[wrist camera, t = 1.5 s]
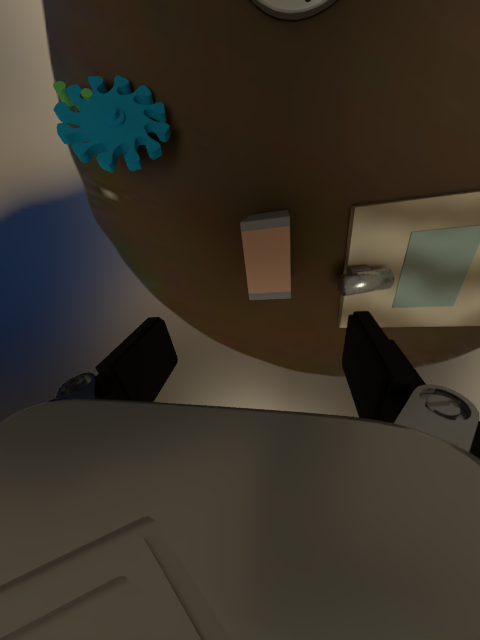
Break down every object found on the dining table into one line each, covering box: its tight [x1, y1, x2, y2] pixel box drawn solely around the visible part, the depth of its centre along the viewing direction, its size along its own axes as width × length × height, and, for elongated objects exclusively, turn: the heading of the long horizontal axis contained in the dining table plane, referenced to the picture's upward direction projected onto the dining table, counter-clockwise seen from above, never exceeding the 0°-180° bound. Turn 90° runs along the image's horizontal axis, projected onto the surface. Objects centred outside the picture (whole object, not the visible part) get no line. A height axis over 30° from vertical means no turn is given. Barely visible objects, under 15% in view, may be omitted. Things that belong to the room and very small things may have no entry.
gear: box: [53, 75, 171, 172], centre depth 22 cm, size 11×6×10 cm
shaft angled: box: [337, 268, 394, 296], centre depth 24 cm, size 2×6×4 cm, turn 98°
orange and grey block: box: [240, 210, 291, 300], centre depth 24 cm, size 8×4×7 cm, turn 8°
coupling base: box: [338, 190, 480, 328], centre depth 24 cm, size 15×18×3 cm
